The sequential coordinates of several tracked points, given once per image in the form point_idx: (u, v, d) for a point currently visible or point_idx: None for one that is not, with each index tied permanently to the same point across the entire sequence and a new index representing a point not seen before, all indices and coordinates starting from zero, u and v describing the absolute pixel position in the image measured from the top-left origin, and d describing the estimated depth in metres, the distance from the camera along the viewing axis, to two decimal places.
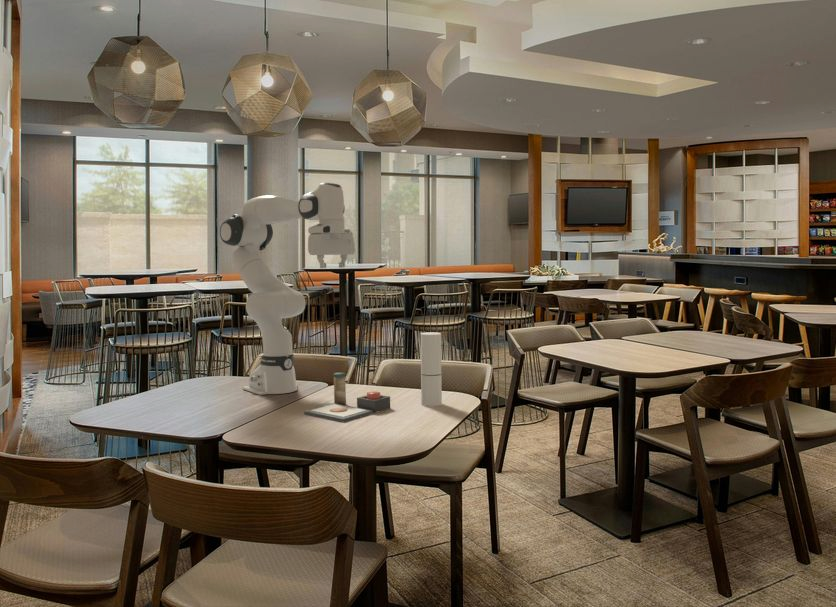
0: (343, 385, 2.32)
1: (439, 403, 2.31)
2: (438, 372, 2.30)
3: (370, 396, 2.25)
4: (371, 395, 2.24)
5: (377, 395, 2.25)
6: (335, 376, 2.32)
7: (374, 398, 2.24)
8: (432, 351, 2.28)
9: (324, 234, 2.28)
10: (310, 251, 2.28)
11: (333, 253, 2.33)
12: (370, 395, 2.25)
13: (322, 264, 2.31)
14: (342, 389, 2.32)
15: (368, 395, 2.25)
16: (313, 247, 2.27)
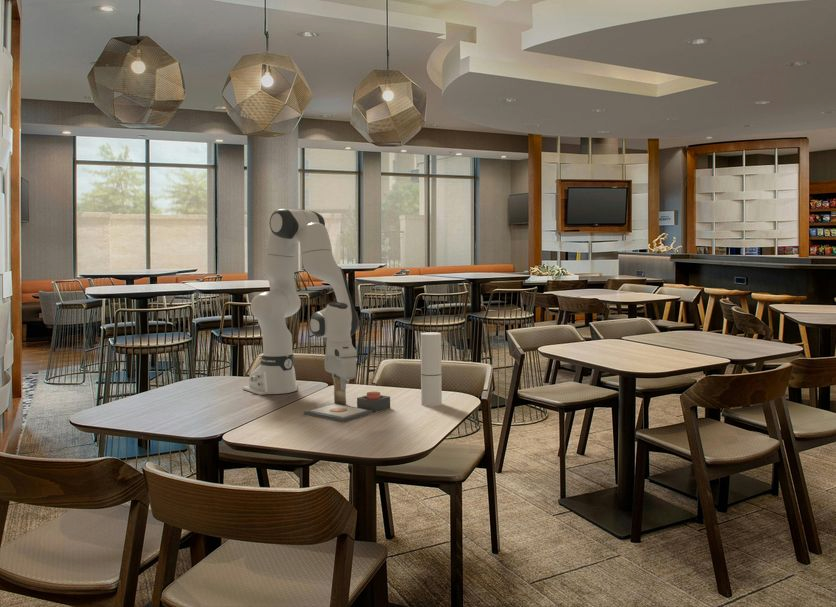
0: None
1: (439, 403, 2.31)
2: (438, 372, 2.30)
3: (370, 396, 2.25)
4: (371, 395, 2.24)
5: (377, 395, 2.25)
6: (335, 376, 2.32)
7: (374, 398, 2.24)
8: (432, 351, 2.28)
9: None
10: (349, 376, 2.24)
11: None
12: (370, 395, 2.25)
13: (344, 385, 2.31)
14: None
15: (368, 395, 2.25)
16: (352, 371, 2.25)
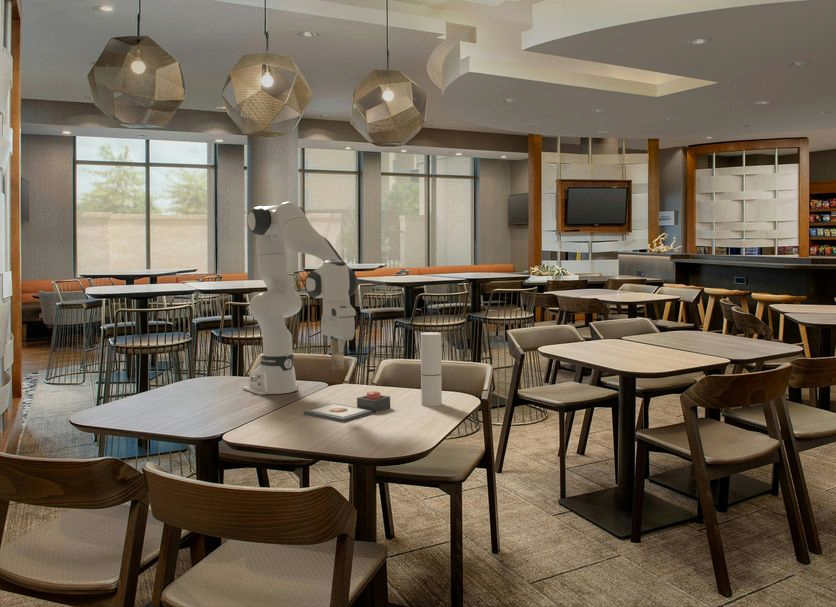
0: None
1: (439, 403, 2.31)
2: (438, 372, 2.30)
3: (370, 396, 2.25)
4: (371, 395, 2.24)
5: (377, 395, 2.25)
6: (332, 338, 2.17)
7: (374, 398, 2.24)
8: (432, 351, 2.28)
9: None
10: (347, 337, 2.09)
11: None
12: (370, 395, 2.25)
13: (342, 348, 2.16)
14: (340, 352, 2.17)
15: (368, 395, 2.25)
16: (351, 332, 2.10)
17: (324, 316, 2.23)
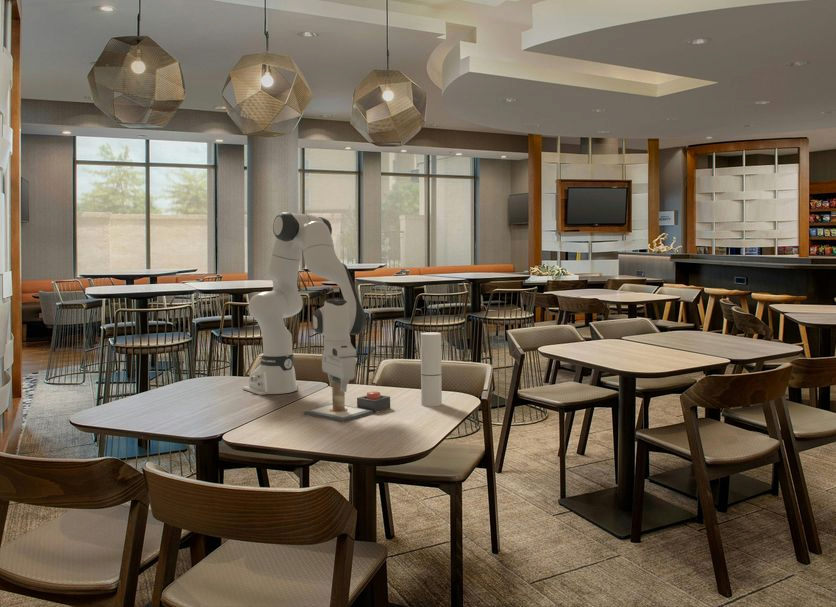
0: None
1: (439, 403, 2.31)
2: (438, 372, 2.30)
3: (370, 396, 2.25)
4: (371, 395, 2.24)
5: (377, 395, 2.25)
6: (334, 380, 2.18)
7: (374, 398, 2.24)
8: (432, 351, 2.28)
9: None
10: (347, 377, 2.10)
11: None
12: (370, 395, 2.25)
13: (345, 388, 2.16)
14: (341, 394, 2.18)
15: (368, 395, 2.25)
16: (351, 372, 2.11)
17: (325, 354, 2.24)
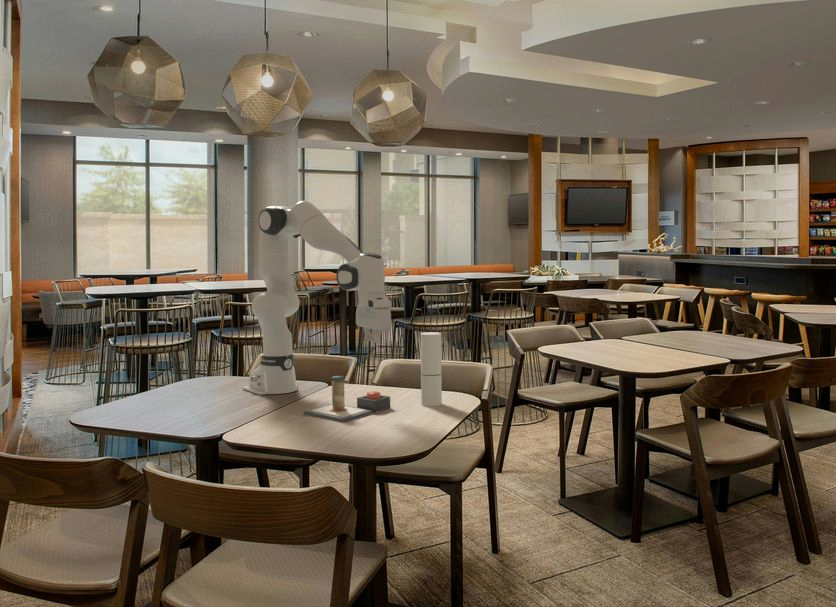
0: (342, 390, 2.19)
1: (439, 403, 2.31)
2: (438, 372, 2.30)
3: (370, 396, 2.25)
4: (371, 395, 2.24)
5: (377, 395, 2.25)
6: (333, 380, 2.18)
7: (374, 398, 2.24)
8: (432, 351, 2.28)
9: None
10: (383, 327, 2.16)
11: None
12: (370, 395, 2.25)
13: (378, 338, 2.22)
14: (340, 394, 2.18)
15: (368, 395, 2.25)
16: (387, 323, 2.16)
17: (359, 308, 2.29)
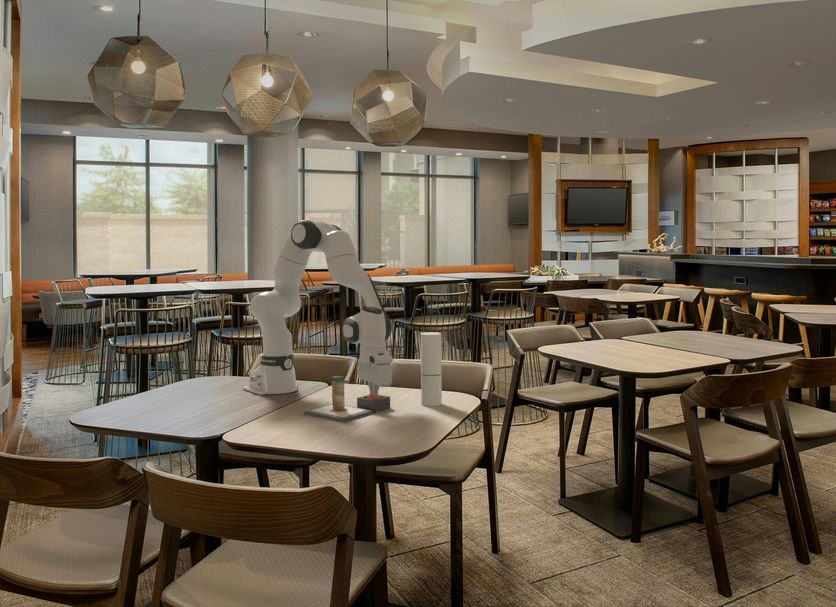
0: (342, 390, 2.19)
1: (439, 403, 2.31)
2: (438, 372, 2.30)
3: (370, 398, 2.25)
4: (371, 398, 2.24)
5: (377, 398, 2.25)
6: (333, 380, 2.18)
7: None
8: (432, 351, 2.28)
9: None
10: (385, 384, 2.17)
11: None
12: (370, 398, 2.25)
13: (376, 392, 2.26)
14: (340, 394, 2.18)
15: (368, 398, 2.25)
16: (388, 379, 2.18)
17: (360, 361, 2.30)
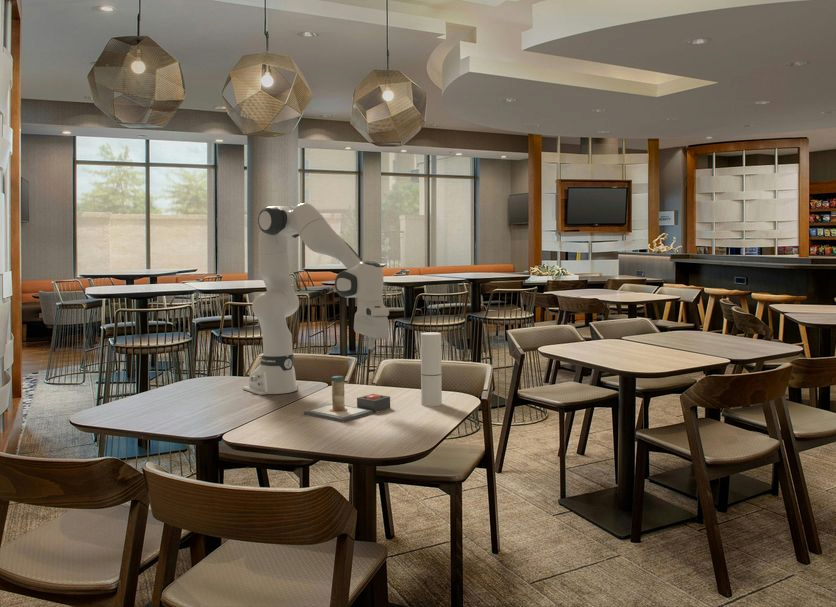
0: (342, 390, 2.19)
1: (439, 403, 2.31)
2: (438, 372, 2.30)
3: None
4: (371, 398, 2.24)
5: (377, 398, 2.25)
6: (333, 380, 2.18)
7: None
8: (432, 351, 2.28)
9: None
10: (380, 336, 2.19)
11: None
12: (370, 398, 2.25)
13: (372, 345, 2.27)
14: (340, 394, 2.18)
15: (368, 398, 2.25)
16: (384, 331, 2.19)
17: (357, 315, 2.32)
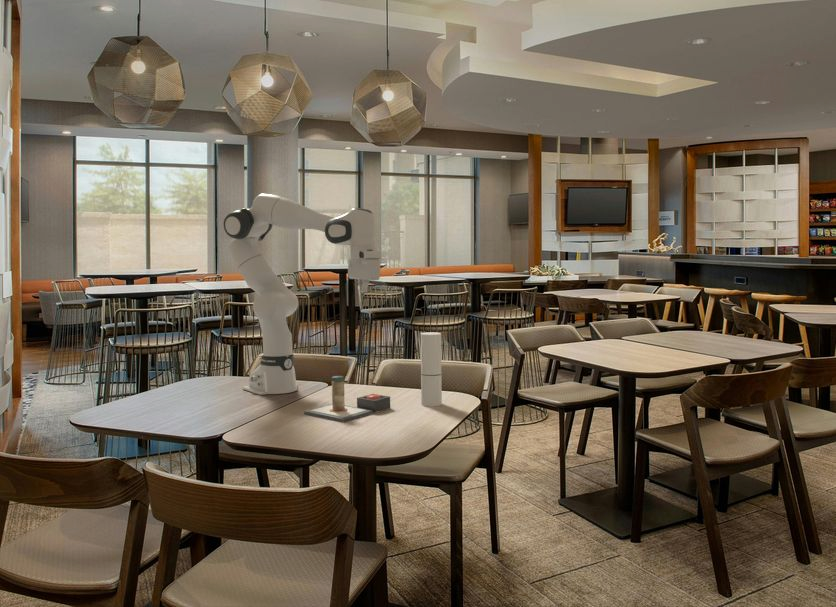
0: (342, 390, 2.19)
1: (439, 403, 2.31)
2: (438, 372, 2.30)
3: None
4: (371, 398, 2.24)
5: (377, 398, 2.25)
6: (333, 380, 2.18)
7: None
8: (432, 351, 2.28)
9: None
10: (373, 277, 2.29)
11: None
12: (370, 398, 2.25)
13: (366, 288, 2.37)
14: (340, 394, 2.18)
15: (368, 398, 2.25)
16: (377, 272, 2.29)
17: (351, 261, 2.42)
